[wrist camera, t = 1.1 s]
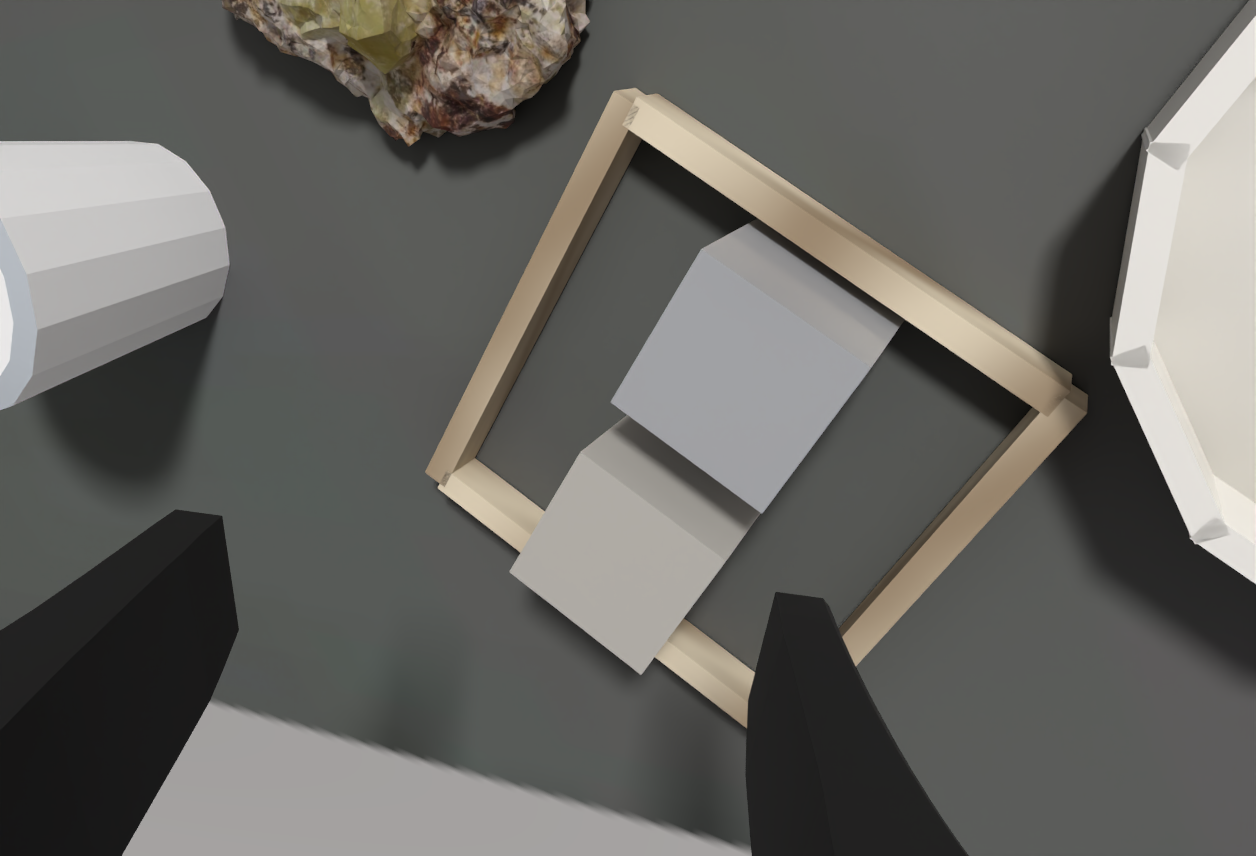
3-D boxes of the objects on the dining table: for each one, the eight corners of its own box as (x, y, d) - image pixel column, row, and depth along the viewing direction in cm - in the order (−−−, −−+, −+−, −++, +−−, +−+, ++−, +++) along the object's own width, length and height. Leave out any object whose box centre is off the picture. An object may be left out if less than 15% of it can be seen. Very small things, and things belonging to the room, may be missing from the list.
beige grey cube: (777, 490, 26) (725, 561, 22) (698, 595, 28) (641, 674, 24) (649, 397, 26) (580, 451, 23) (582, 506, 28) (509, 571, 25)
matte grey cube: (906, 316, 23) (871, 367, 19) (809, 446, 25) (762, 513, 21) (760, 216, 23) (701, 248, 20) (677, 351, 25) (610, 402, 22)
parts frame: (1093, 388, 22) (1092, 406, 21) (789, 725, 28) (777, 752, 27) (638, 81, 23) (617, 83, 22) (446, 461, 29) (423, 476, 28)
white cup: (271, 340, 31) (68, 415, 25) (113, 349, 34) (-102, 419, 28) (208, 102, 29) (-30, 122, 23) (47, 135, 31) (-202, 159, 26)
